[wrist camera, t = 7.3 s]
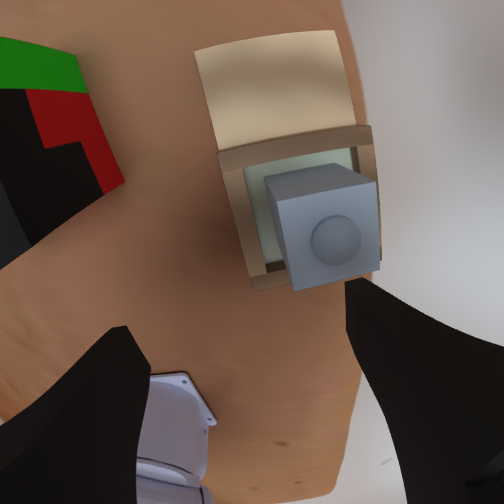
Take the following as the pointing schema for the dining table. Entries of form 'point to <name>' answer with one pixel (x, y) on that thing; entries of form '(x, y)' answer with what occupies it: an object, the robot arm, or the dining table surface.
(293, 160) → the socket block
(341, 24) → the dining table surface
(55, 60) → the puzzle toy
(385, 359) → the robot arm
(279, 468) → the dining table surface
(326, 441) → the dining table surface
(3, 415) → the dining table surface
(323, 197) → the stud block
